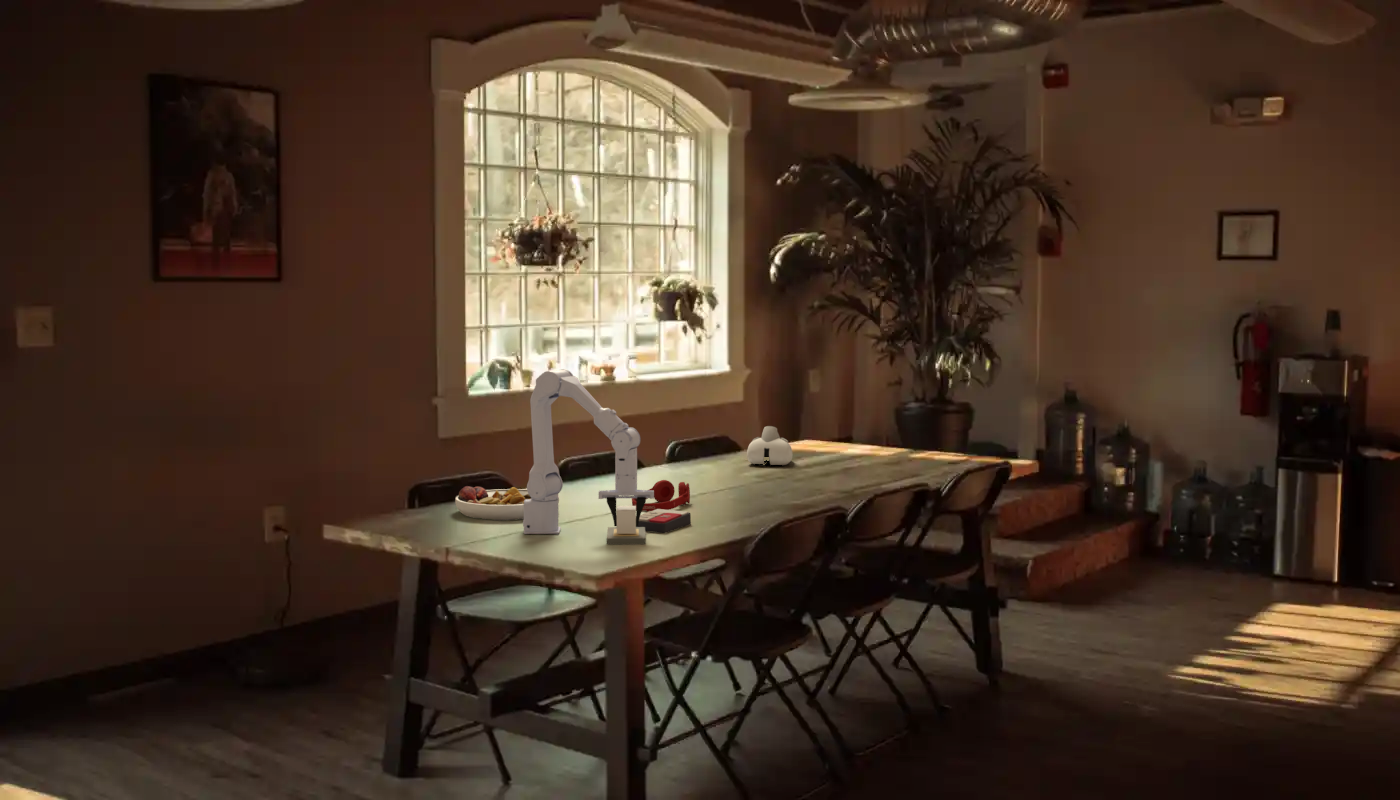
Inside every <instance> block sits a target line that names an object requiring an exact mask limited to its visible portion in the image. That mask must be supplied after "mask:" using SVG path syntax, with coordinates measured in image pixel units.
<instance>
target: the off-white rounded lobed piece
mask: <svg viewBox="0 0 1400 800" xmlns="http://www.w3.org/2000/svg"><path fill="white" fill-rule="evenodd" d="M764 457H769V465H770V466H771V465H782V466H786V465H788V464H790V462H792V460H793V449H792V446H791V444H790V443H789V440H787V439H786V438H784V437H780V434H779V432H778V428H777V427H776V426H772V425H767V426H764V428H763V430H762V433H761V437H760V436H757V437H755V438H753V439H752V441H751V442H750V443H749V445H748V447H747V450H746V458H747V461H748V462H749V463H750V464H752V465H755V464H765V463H766V462H767V461H765V462H764Z"/></svg>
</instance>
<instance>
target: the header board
mask: <svg viewBox="0 0 1400 800" xmlns="http://www.w3.org/2000/svg"><path fill="white" fill-rule="evenodd" d="M606 545H646V531H645V527H636V534H617V526H612V527H611V526H608V527H607V532H606Z"/></svg>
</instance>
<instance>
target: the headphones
mask: <svg viewBox="0 0 1400 800" xmlns="http://www.w3.org/2000/svg"><path fill="white" fill-rule="evenodd" d="M685 482H686V481H680V482H679V483H678V497H676V498H673V497H674V496H675V487H674V484H673V483H672V482H671V481H670V480H667V479H661V480H659V481H658V480H657V482H655V484H654V485H653V486H652V487H651V488H649V489H648V490H654V499H653V500H655V501H656V502H653V503H646V502H645V505H644V507H643V509H642V512H649V511H654V510H656V509H664V510H674V509H676V508H677V507H679V506H686V505H687V504H690V502H691V491H690V490H691V488H690V484H689V483H688V482H687V483H685ZM647 499H649V498H646V500H647ZM631 503H632V504H631V506H636V498H631Z"/></svg>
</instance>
